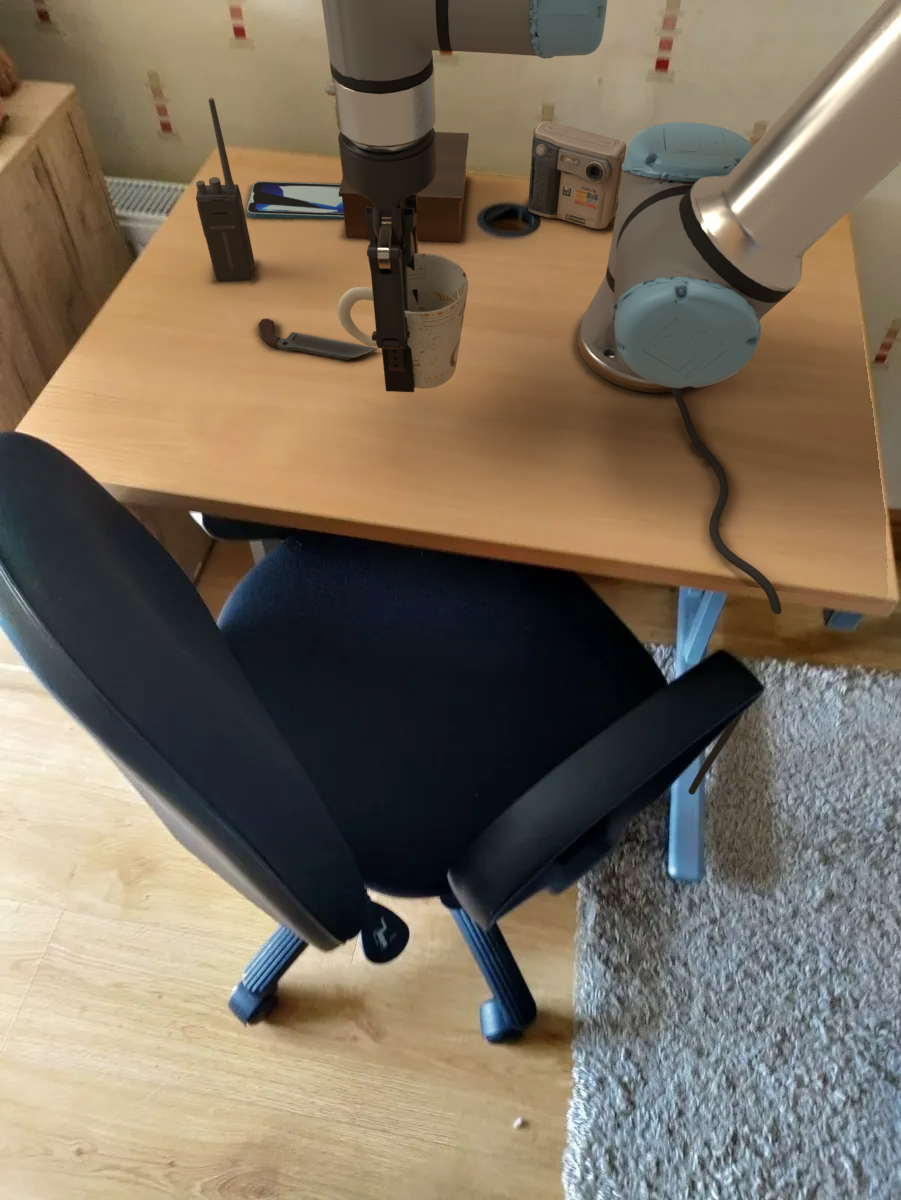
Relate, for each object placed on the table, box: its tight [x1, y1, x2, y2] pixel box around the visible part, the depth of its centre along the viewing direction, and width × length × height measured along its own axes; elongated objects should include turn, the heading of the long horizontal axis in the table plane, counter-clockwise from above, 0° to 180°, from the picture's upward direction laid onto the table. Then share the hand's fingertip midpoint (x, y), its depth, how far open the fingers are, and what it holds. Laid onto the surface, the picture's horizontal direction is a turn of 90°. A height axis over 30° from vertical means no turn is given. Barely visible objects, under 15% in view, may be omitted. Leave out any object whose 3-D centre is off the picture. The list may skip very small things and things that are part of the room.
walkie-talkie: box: [195, 97, 255, 282], centre depth 97 cm, size 5×3×20 cm
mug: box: [337, 252, 469, 390], centre depth 83 cm, size 8×13×10 cm, turn 79°
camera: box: [527, 120, 627, 230], centre depth 108 cm, size 11×6×10 cm, turn 61°
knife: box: [258, 318, 378, 361], centre depth 97 cm, size 14×4×1 cm, turn 74°
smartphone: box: [246, 180, 344, 220], centre depth 113 cm, size 7×1×15 cm
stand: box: [339, 131, 470, 243], centre depth 110 cm, size 15×15×6 cm
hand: (403, 365), depth 87 cm, fingers closed on mug, 6 cm apart
